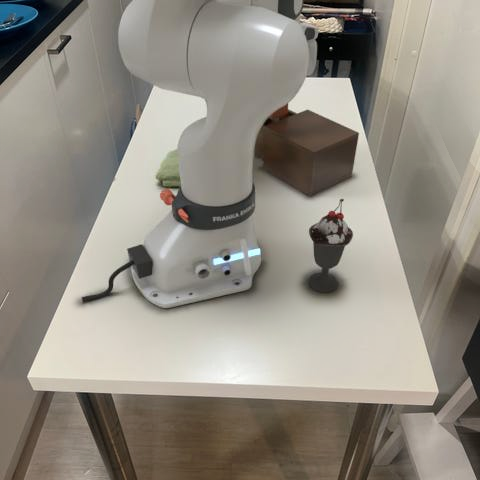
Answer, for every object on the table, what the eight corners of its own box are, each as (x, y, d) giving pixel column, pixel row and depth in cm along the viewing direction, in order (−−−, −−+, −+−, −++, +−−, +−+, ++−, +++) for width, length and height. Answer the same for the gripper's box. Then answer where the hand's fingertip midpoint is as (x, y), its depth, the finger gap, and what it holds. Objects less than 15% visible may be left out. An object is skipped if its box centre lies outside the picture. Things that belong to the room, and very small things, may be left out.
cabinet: (262, 168, 109) (263, 126, 102) (304, 151, 114) (307, 109, 107) (309, 196, 101) (314, 152, 94) (351, 176, 106) (359, 132, 99)
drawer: (227, 142, 115) (226, 108, 110) (263, 128, 120) (264, 95, 115) (278, 171, 106) (279, 136, 100) (315, 155, 111) (319, 120, 105)
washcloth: (167, 157, 112) (165, 143, 110) (244, 160, 111) (244, 146, 109) (155, 188, 103) (152, 174, 101) (239, 191, 102) (239, 177, 100)
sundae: (342, 270, 84) (356, 193, 74) (344, 297, 80) (359, 218, 69) (303, 268, 85) (311, 191, 74) (303, 295, 80) (312, 216, 70)
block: (272, 119, 105) (273, 98, 102) (258, 112, 107) (258, 91, 104) (287, 113, 107) (289, 92, 103) (273, 107, 109) (274, 85, 106)
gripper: (245, 50, 90) (245, 124, 100) (324, 27, 98) (317, 97, 108) (224, 41, 93) (226, 114, 103) (302, 20, 102) (297, 89, 112)
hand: (273, 105), depth 106 cm, fingers closed on block, 4 cm apart
